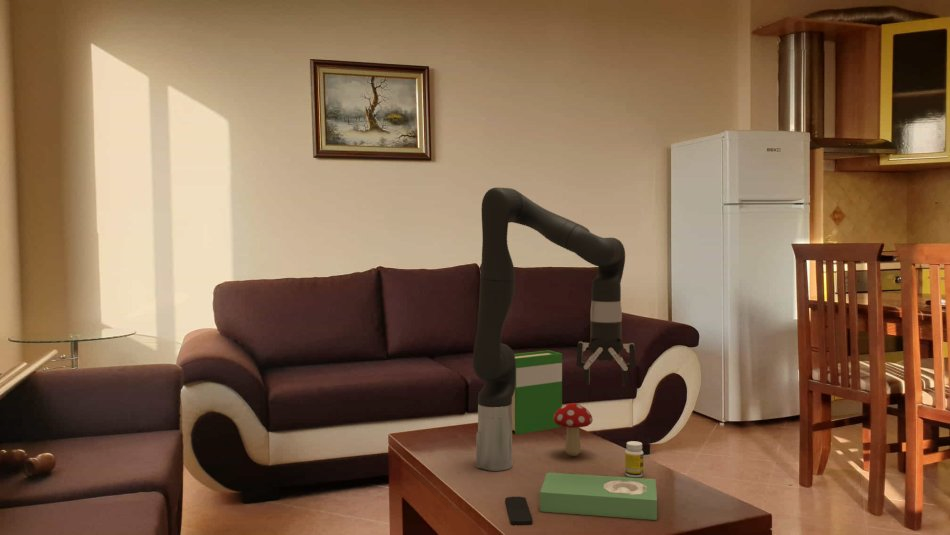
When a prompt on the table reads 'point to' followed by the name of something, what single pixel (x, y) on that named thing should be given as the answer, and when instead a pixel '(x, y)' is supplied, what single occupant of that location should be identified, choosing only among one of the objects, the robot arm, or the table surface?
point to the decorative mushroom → (573, 425)
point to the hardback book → (536, 391)
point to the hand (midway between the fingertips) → (605, 384)
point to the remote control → (518, 511)
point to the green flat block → (599, 496)
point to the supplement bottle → (634, 459)
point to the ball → (623, 489)
